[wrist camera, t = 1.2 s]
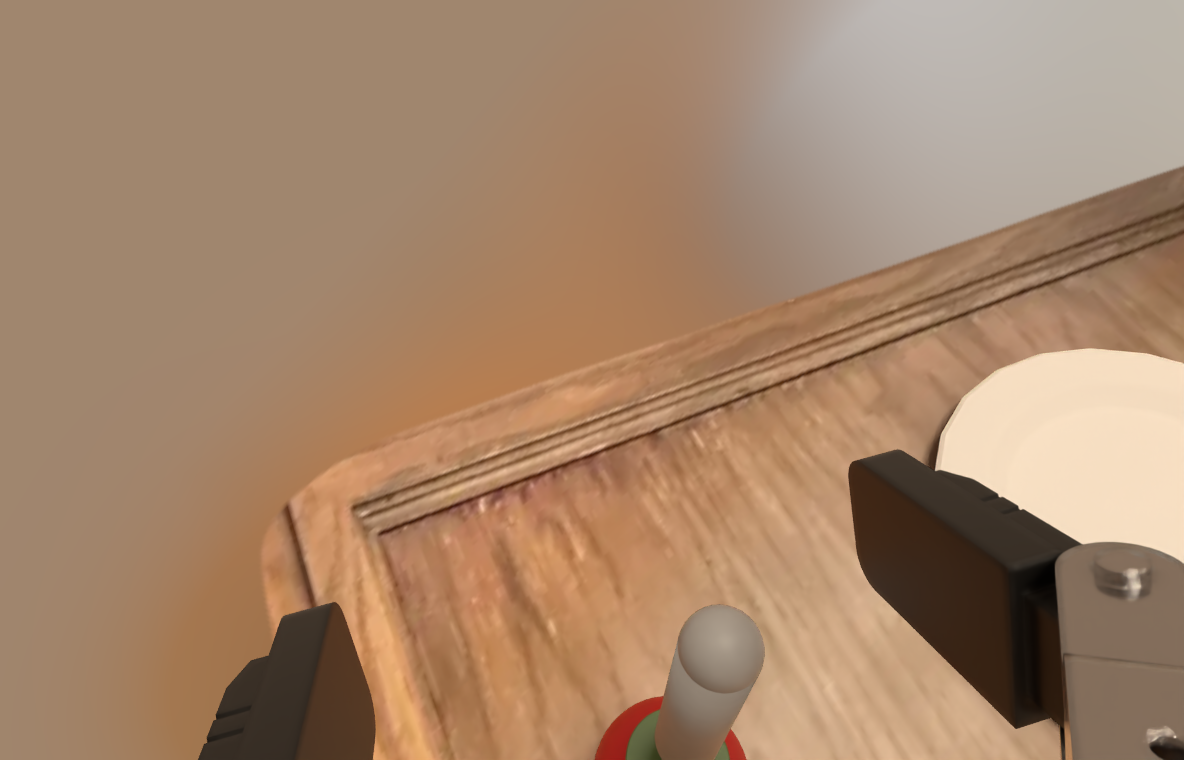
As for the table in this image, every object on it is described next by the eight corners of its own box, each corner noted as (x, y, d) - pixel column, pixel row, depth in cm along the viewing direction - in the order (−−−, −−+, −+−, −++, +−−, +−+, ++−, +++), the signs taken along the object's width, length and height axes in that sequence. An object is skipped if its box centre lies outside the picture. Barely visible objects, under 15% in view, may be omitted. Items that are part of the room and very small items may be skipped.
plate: (1195, 332, 43) (1215, 310, 42) (1583, 726, 31) (1629, 713, 29) (843, 414, 39) (852, 394, 38) (1120, 897, 27) (1148, 891, 26)
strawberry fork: (563, 819, 28) (544, 666, 16) (641, 696, 31) (681, 477, 18) (689, 920, 27) (786, 840, 14) (761, 779, 29) (899, 602, 16)
